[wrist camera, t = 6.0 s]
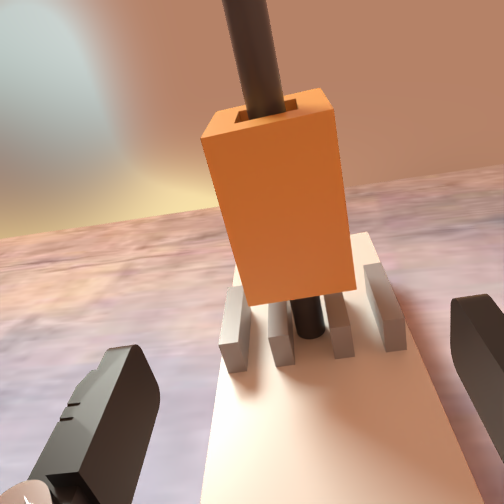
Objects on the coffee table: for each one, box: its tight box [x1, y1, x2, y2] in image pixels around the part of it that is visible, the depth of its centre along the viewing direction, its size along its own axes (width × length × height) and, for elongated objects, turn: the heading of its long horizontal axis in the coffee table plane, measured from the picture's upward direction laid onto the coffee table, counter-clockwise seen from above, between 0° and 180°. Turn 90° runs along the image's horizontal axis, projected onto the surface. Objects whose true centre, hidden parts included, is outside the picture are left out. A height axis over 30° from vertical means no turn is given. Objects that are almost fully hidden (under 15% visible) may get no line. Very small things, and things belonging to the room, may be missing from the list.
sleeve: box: [200, 88, 357, 307], centre depth 19 cm, size 5×5×8 cm
